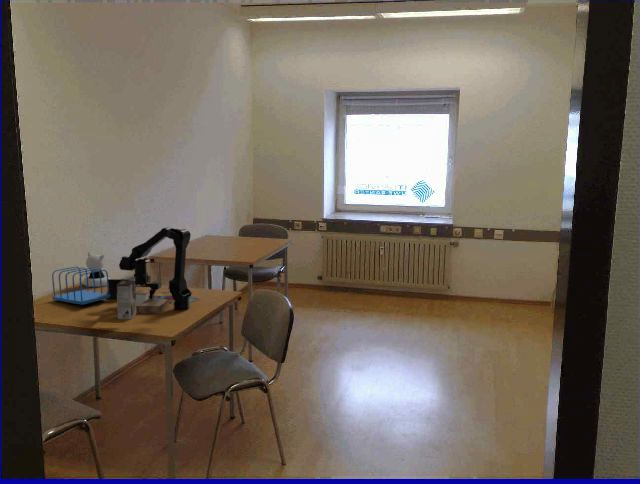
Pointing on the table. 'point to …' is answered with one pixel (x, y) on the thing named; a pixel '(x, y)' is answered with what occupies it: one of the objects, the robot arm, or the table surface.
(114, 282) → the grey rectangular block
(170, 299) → the relief map
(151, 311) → the walnut block
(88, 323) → the table surface
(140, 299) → the cream capped cube
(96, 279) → the decorative figurine
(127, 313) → the coffee box
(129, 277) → the digital clock
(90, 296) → the file sorter
